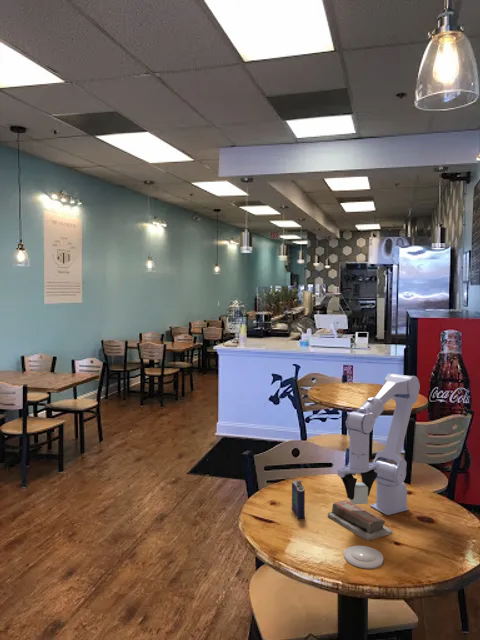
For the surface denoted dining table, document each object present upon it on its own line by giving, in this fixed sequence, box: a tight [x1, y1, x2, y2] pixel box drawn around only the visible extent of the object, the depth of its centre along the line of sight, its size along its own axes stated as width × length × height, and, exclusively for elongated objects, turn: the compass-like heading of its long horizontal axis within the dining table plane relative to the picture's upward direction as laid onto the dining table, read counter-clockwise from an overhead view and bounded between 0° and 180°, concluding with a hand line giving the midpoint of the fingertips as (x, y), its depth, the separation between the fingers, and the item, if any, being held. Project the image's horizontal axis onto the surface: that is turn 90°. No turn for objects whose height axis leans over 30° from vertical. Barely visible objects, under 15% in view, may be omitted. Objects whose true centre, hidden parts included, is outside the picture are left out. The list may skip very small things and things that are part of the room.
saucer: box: [343, 545, 384, 570], centre depth 128 cm, size 10×10×1 cm
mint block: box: [348, 481, 369, 505], centre depth 147 cm, size 4×4×5 cm
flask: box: [291, 479, 306, 521], centre depth 155 cm, size 9×3×11 cm, turn 8°
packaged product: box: [327, 499, 394, 542], centre depth 148 cm, size 18×5×10 cm
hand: (358, 496), depth 148 cm, fingers closed on mint block, 5 cm apart
